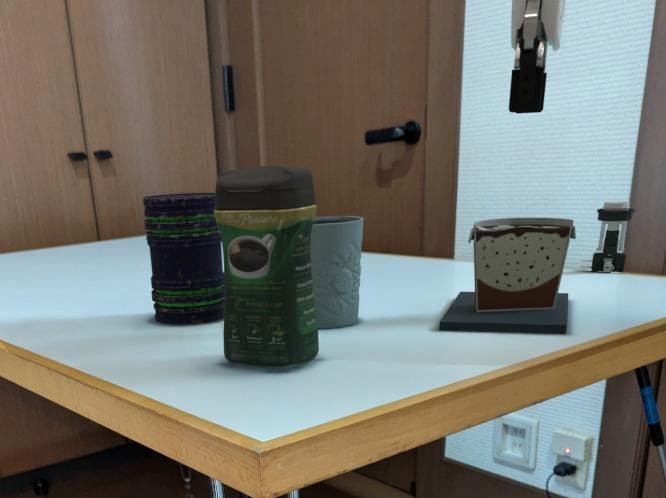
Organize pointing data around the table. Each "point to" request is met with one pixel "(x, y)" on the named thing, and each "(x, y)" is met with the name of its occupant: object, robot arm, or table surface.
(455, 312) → the mat
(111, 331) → the table surface
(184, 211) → the storage jar
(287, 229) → the coffee jar
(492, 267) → the food container
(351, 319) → the grey embossed cup
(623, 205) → the black and grey device
